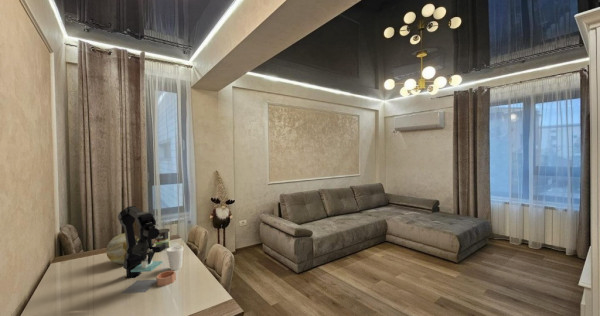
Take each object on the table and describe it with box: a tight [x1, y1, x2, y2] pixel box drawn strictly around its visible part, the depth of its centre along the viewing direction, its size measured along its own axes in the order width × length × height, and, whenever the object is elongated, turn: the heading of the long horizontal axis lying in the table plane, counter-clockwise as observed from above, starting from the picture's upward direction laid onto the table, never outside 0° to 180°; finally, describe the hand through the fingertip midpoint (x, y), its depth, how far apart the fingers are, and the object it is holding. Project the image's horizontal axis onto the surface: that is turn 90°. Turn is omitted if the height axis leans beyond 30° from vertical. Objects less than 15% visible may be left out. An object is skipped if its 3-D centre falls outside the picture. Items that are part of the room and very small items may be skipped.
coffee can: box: [154, 228, 171, 251], centre depth 196 cm, size 10×10×14 cm
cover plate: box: [131, 257, 164, 273], centre depth 138 cm, size 11×11×4 cm
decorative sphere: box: [105, 232, 140, 265], centre depth 172 cm, size 20×20×20 cm
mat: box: [121, 279, 157, 294], centre depth 138 cm, size 13×13×1 cm
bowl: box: [155, 270, 177, 287], centre depth 142 cm, size 9×9×4 cm
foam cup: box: [166, 245, 185, 271], centre depth 159 cm, size 10×9×13 cm
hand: (147, 264), depth 139 cm, fingers closed on cover plate, 2 cm apart
